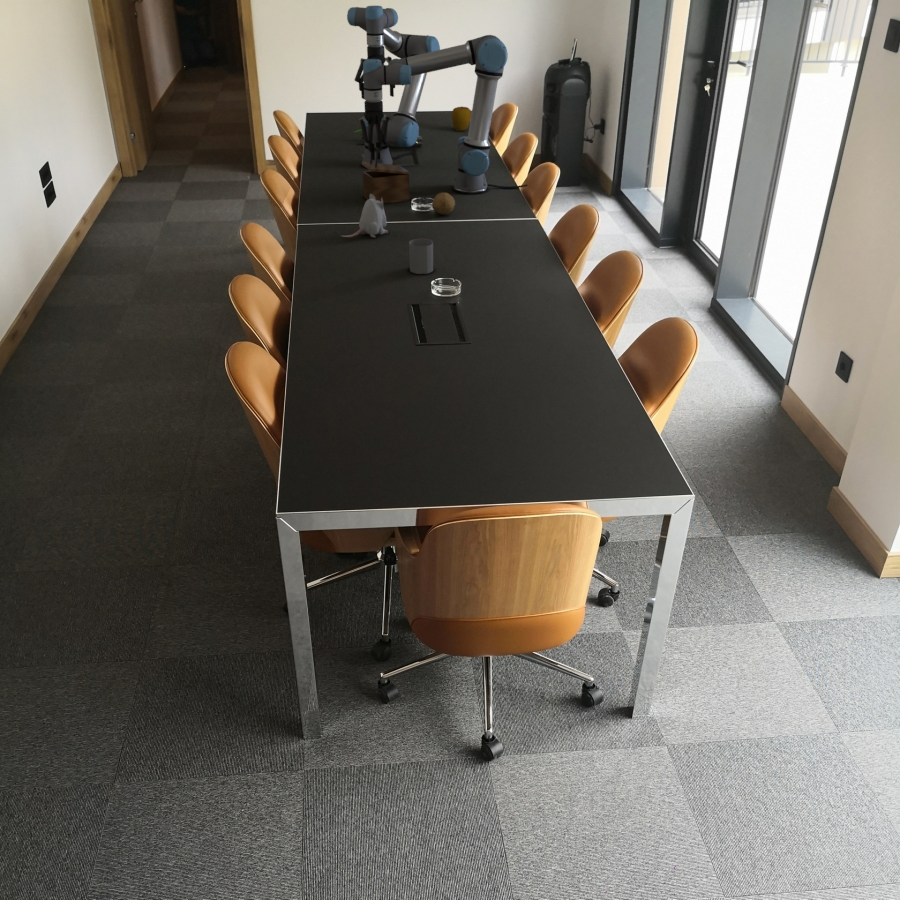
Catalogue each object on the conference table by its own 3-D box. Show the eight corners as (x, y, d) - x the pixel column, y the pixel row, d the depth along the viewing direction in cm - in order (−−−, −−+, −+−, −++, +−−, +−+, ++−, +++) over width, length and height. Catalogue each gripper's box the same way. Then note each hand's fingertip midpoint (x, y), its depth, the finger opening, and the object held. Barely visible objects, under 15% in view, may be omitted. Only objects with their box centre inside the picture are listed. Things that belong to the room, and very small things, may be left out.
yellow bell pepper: (471, 132, 486) (471, 108, 479) (451, 132, 486) (451, 108, 479) (470, 128, 495) (471, 104, 488) (452, 128, 495) (452, 104, 488)
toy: (393, 232, 342) (392, 194, 333) (348, 247, 327) (345, 208, 319) (378, 227, 347) (376, 190, 339) (332, 242, 332) (330, 203, 324)
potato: (453, 208, 369) (453, 189, 365) (456, 218, 357) (456, 199, 353) (431, 208, 368) (430, 189, 364) (432, 218, 356) (432, 199, 352)
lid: (371, 171, 365) (373, 149, 361) (361, 164, 374) (363, 142, 370) (408, 174, 373) (411, 152, 368) (398, 167, 382) (401, 146, 378)
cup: (409, 265, 311) (408, 238, 306) (432, 265, 312) (431, 238, 307) (410, 274, 304) (409, 246, 299) (433, 273, 305) (433, 246, 299)
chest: (373, 205, 373) (372, 178, 367) (364, 197, 382) (362, 171, 376) (409, 200, 379) (409, 174, 373) (399, 193, 388) (398, 167, 382)
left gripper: (351, 48, 370) (354, 101, 381) (405, 45, 379) (406, 96, 390) (345, 46, 376) (348, 98, 387) (399, 42, 384) (400, 93, 396)
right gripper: (359, 103, 351) (362, 162, 364) (393, 100, 357) (395, 159, 369) (353, 100, 357) (356, 158, 370) (387, 97, 362) (388, 155, 375)
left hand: (377, 97), depth 389 cm, fingers open, 13 cm apart
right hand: (375, 158), depth 369 cm, fingers closed on lid, 2 cm apart
